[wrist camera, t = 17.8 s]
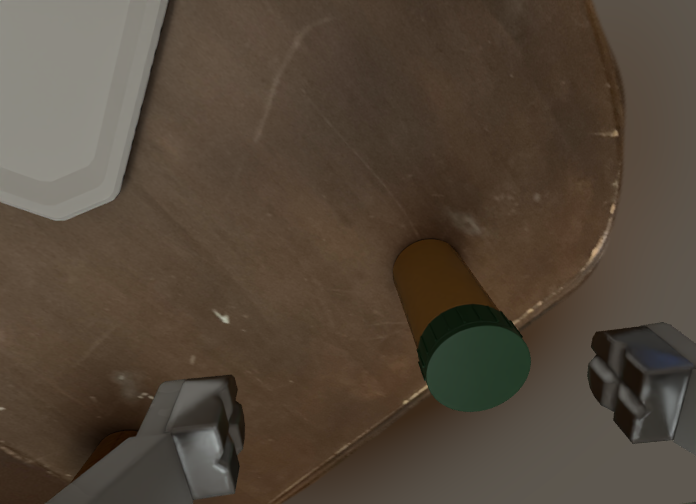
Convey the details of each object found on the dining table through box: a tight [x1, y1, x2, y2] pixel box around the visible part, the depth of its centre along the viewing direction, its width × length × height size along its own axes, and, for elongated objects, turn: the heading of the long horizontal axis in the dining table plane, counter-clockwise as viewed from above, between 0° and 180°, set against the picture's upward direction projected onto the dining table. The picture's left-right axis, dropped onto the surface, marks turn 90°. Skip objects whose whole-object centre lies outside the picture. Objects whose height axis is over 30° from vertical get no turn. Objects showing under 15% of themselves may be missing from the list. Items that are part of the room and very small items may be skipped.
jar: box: [393, 239, 500, 349], centre depth 31 cm, size 6×6×12 cm
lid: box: [417, 304, 531, 412], centre depth 26 cm, size 6×6×2 cm
